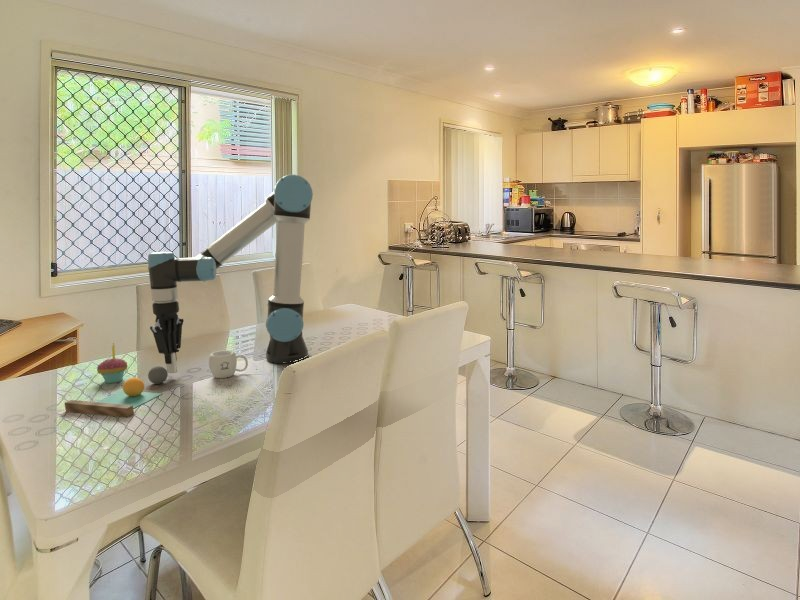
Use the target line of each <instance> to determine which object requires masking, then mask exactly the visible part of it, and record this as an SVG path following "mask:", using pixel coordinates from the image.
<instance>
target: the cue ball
mask: <svg viewBox="0 0 800 600" xmlns="http://www.w3.org/2000/svg"><path fill="white" fill-rule="evenodd" d="M168 374H169V373H167V368H165V367H163V366H160V365H158V366H154V367H152V368H151V369H150V370H148V373H147V378H148V380H149V382H151V383H152V384H155V385H159V384H162V383H164V382H166V380H167V378H168V376H169V375H168Z"/></svg>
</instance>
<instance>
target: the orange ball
mask: <svg viewBox="0 0 800 600" xmlns="http://www.w3.org/2000/svg"><path fill="white" fill-rule="evenodd" d="M122 390H123V391H124V393H125V394H126V395H128V396H131V397H135V396H138V395H140V394H141V393H142V392H144V390H145V383H144V380H142V379H141V378H139V377H131V378H127V379H126V381H124V383H123V385H122Z"/></svg>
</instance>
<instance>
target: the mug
mask: <svg viewBox="0 0 800 600" xmlns="http://www.w3.org/2000/svg"><path fill="white" fill-rule="evenodd" d="M239 358H242V359H244V362H245V366H244V367H243V368H242V369H239V368H237V359H239ZM208 365H209V370H210V373H211V375H212V376H213V378H215V379H228V378H231V377H232V376H233V375H235V372H244V371H246V370H247V369H248V366H249V362H248V359H247V357H246V356H244V355H242V354H239V355H236V352H235V351H234V350H231V349H230V350H229V349H228V350H227V349H226V350H225V349H224V350H216V351H213V352H211V353H210V354H209V357H208ZM227 377H228V378H227Z"/></svg>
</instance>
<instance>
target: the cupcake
mask: <svg viewBox="0 0 800 600" xmlns="http://www.w3.org/2000/svg"><path fill="white" fill-rule="evenodd" d="M115 348H116V347H115V344H114V342H113V343H112V345H111V350H112V354H111V355H112V356H111V357H112V358H110V359H106V360H103V361H102V362H100V363H99V364H98V365H97V367H96V371H97V374H100V375H101V377H102V378H103V379H104V381H105V383H108V384H113V383H117V382H118V383H119V382H121V381H123V378H124V374H125V372H126V370H128V362H127V361H125V360H124V359H121V358H118V357H117V358H116V350H115Z"/></svg>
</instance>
